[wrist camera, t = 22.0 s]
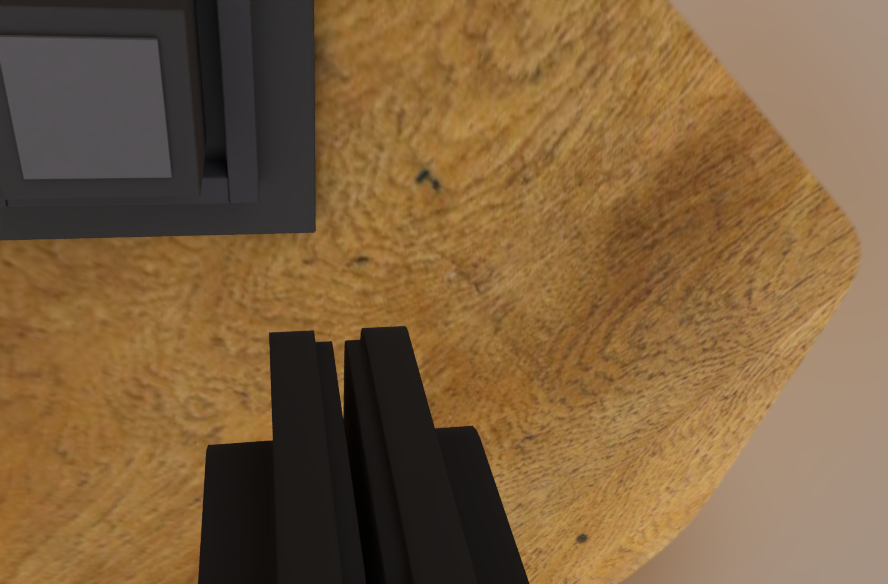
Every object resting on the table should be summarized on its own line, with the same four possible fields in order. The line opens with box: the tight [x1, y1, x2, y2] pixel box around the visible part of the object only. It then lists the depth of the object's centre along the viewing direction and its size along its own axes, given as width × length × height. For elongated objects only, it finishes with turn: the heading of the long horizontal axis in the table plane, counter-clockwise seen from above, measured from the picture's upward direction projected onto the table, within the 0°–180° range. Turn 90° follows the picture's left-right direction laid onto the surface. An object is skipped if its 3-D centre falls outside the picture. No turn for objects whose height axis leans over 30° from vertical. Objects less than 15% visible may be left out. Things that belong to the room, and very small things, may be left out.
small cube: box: [0, 0, 207, 200], centre depth 25 cm, size 6×6×5 cm
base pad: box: [0, 0, 316, 240], centre depth 27 cm, size 13×13×2 cm
